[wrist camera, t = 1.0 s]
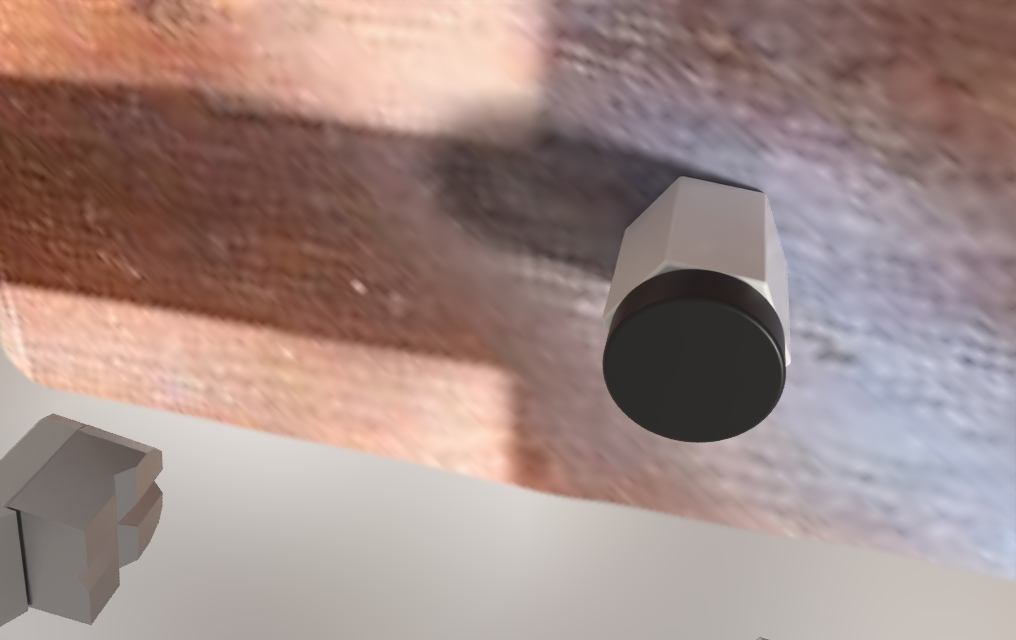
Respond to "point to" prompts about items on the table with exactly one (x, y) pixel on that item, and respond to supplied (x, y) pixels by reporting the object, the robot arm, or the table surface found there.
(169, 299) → the table surface
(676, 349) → the jar
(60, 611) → the robot arm
